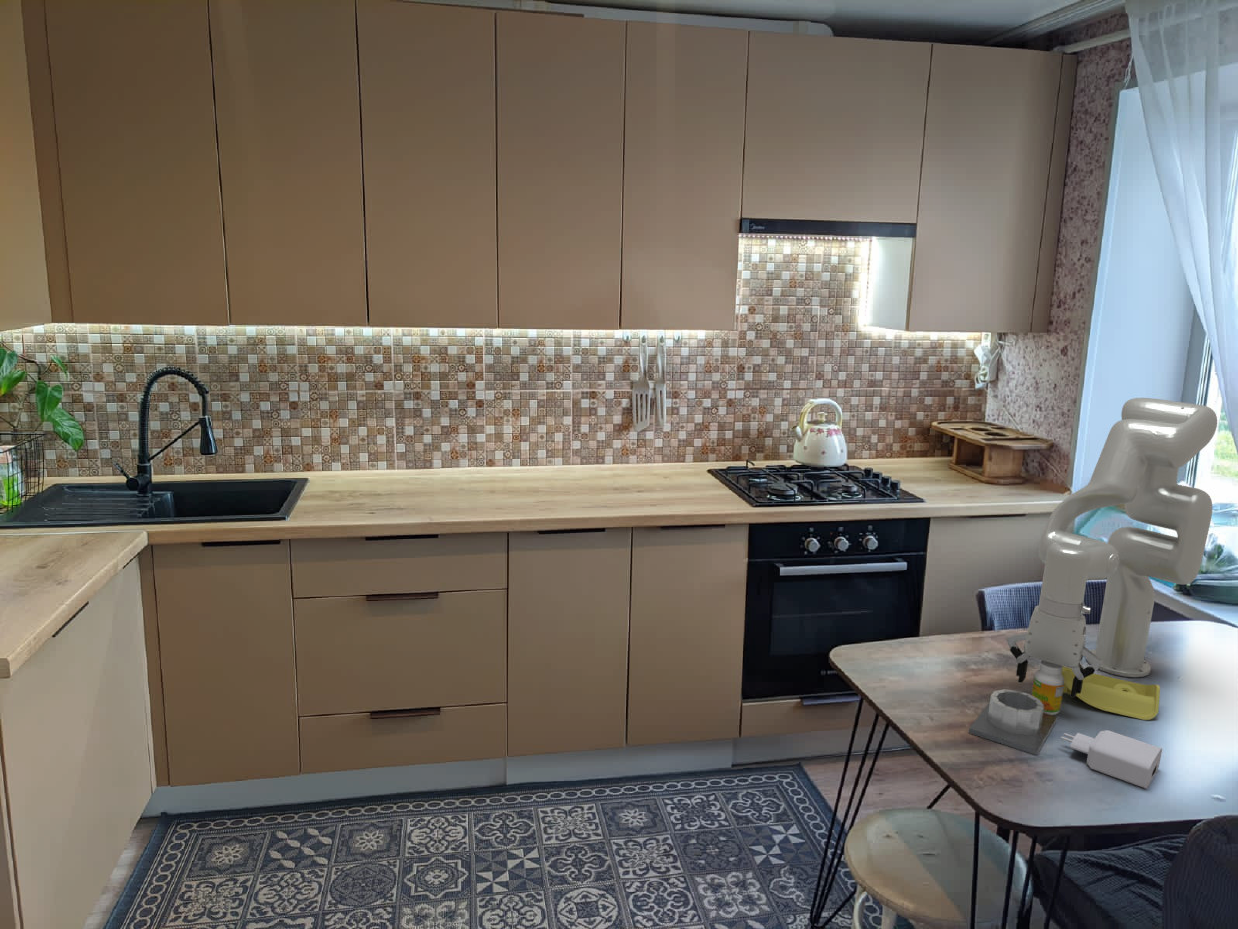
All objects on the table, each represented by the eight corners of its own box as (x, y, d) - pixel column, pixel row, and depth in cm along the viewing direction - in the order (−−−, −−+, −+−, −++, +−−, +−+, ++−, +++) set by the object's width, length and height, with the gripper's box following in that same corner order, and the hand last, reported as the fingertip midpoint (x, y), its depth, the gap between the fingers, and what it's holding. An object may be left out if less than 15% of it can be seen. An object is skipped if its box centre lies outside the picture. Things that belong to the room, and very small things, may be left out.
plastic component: (1146, 685, 186) (1162, 685, 177) (1142, 721, 185) (1157, 723, 176) (1043, 662, 192) (1053, 660, 183) (1038, 697, 191) (1047, 697, 182)
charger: (1068, 738, 169) (1158, 770, 159) (1052, 757, 162) (1145, 791, 153) (1072, 715, 168) (1163, 746, 158) (1056, 733, 161) (1150, 766, 151)
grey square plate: (992, 702, 182) (995, 676, 181) (1056, 721, 175) (1060, 695, 174) (968, 733, 169) (972, 706, 168) (1036, 755, 162) (1040, 727, 161)
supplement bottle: (1024, 706, 180) (1030, 661, 178) (1040, 700, 183) (1047, 656, 181) (1048, 718, 176) (1056, 672, 174) (1065, 711, 179) (1072, 666, 177)
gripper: (1113, 612, 173) (1099, 694, 176) (1018, 590, 183) (1006, 668, 186) (1106, 624, 167) (1091, 708, 170) (1008, 600, 177) (996, 681, 181)
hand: (1047, 687), depth 178 cm, fingers open, 9 cm apart
